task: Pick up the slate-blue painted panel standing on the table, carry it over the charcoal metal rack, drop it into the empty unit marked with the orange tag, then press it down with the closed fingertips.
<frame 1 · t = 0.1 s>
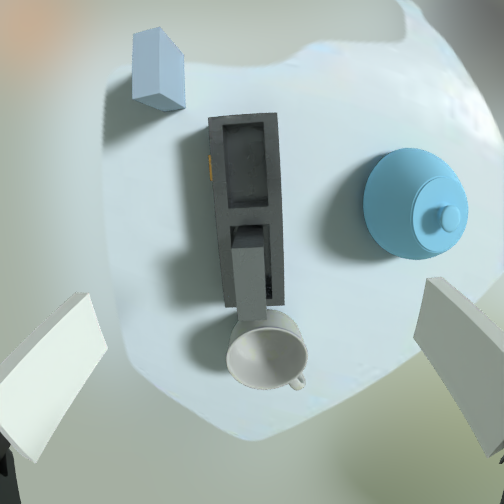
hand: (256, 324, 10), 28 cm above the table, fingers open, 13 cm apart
panel: (173, 82, 31), on the table
teacup: (271, 335, 43), on the table
rack: (250, 208, 37), on the table
sugar bowl: (404, 200, 36), on the table
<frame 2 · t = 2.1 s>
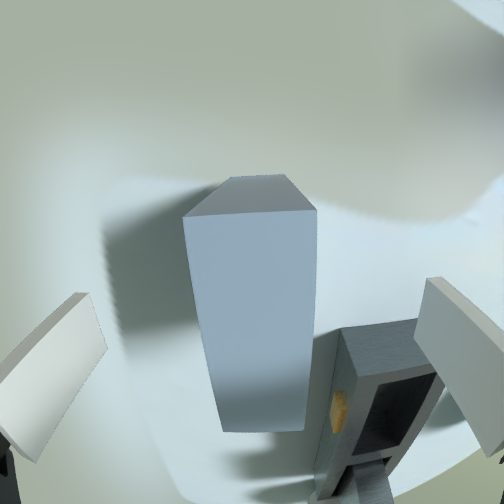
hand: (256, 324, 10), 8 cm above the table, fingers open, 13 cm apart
panel: (261, 243, 17), on the table
teacup: (344, 483, 29), on the table
rack: (361, 416, 22), on the table
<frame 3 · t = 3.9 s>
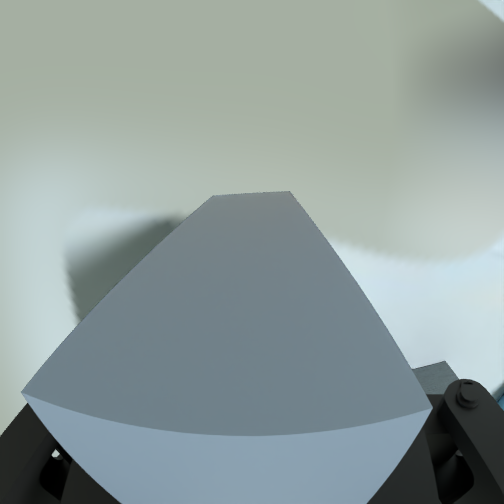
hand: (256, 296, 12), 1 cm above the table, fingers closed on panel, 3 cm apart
panel: (256, 287, 12), point 1 cm above the table, touching gripper
rack: (365, 459, 18), on the table
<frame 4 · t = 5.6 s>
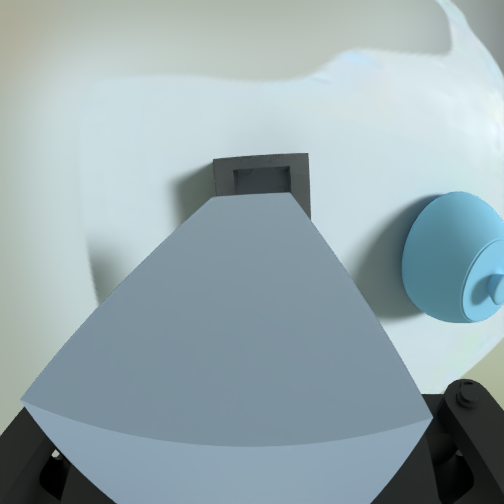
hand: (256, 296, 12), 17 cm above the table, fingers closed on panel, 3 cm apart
panel: (256, 288, 12), point 17 cm above the table, touching gripper
rack: (267, 267, 30), on the table
sugar bowl: (444, 249, 29), on the table
when the fingers open (6 cm above the table, at t = 7.8 s): panel drops 5 cm, resting on rack.
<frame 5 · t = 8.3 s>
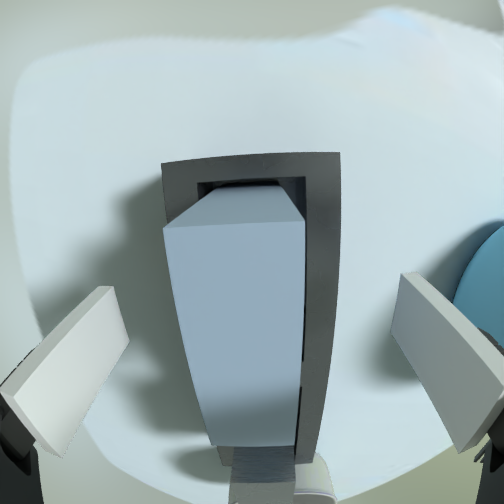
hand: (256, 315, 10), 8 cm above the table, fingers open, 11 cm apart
panel: (253, 251, 17), point 1 cm above the table, touching rack
teacup: (286, 459, 26), on the table
rack: (262, 328, 19), on the table
sugar bowl: (495, 290, 18), on the table
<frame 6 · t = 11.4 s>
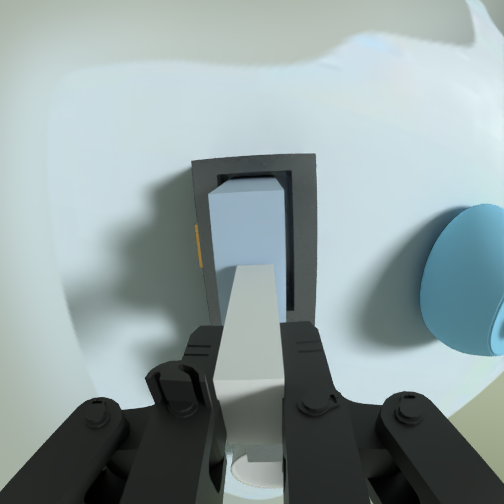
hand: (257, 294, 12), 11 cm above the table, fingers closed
panel: (255, 228, 22), point 1 cm above the table, touching rack
teacup: (284, 425, 31), on the table
rack: (262, 292, 25), on the table
sugar bowl: (465, 268, 24), on the table
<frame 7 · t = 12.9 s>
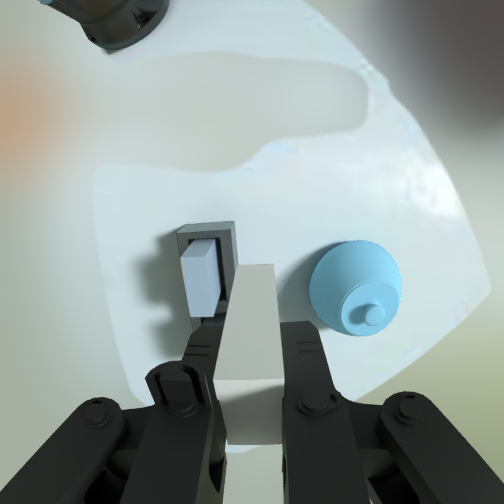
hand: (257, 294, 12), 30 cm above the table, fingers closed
panel: (210, 259, 43), point 1 cm above the table, touching rack
rack: (217, 292, 46), on the table
sugar bowl: (351, 280, 45), on the table
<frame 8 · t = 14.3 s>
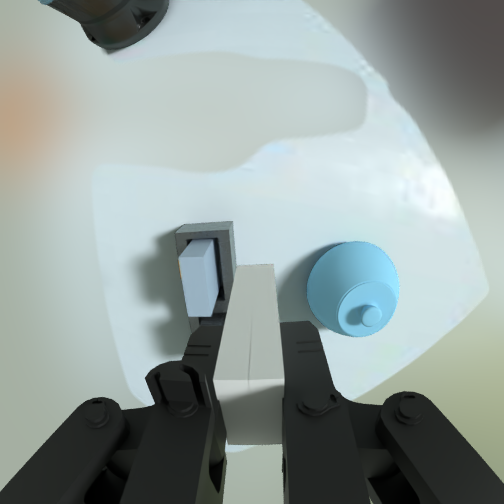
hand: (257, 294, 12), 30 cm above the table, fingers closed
panel: (209, 259, 43), point 1 cm above the table, touching rack
rack: (215, 291, 46), on the table
sugar bowl: (348, 280, 45), on the table
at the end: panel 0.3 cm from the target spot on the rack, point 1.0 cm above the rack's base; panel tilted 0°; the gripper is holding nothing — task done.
